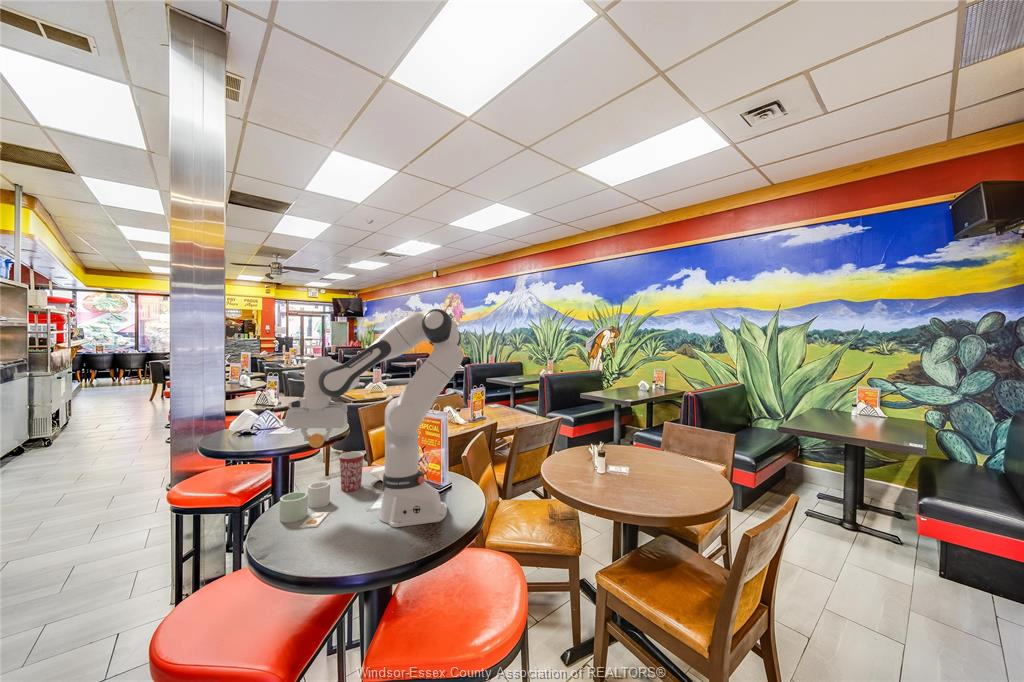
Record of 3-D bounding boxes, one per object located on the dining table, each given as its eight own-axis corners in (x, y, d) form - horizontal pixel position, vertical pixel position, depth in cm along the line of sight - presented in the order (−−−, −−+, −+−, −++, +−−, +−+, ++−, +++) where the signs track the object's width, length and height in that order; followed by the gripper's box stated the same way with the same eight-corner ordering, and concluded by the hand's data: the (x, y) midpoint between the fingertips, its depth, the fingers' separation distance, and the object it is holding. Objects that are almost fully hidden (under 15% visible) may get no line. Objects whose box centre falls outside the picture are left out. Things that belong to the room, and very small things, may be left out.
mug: (356, 493, 143) (357, 458, 143) (334, 492, 143) (334, 457, 144) (371, 481, 155) (371, 449, 156) (350, 480, 156) (350, 448, 156)
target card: (329, 513, 125) (329, 511, 125) (316, 527, 115) (316, 525, 115) (313, 513, 125) (313, 512, 125) (299, 528, 115) (299, 526, 115)
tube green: (311, 511, 127) (311, 491, 127) (300, 522, 119) (300, 500, 119) (287, 512, 126) (287, 492, 126) (274, 523, 118) (275, 501, 118)
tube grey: (332, 499, 136) (332, 481, 137) (324, 507, 130) (325, 488, 130) (312, 500, 136) (313, 481, 136) (304, 508, 129) (304, 488, 129)
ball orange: (326, 445, 134) (326, 431, 134) (320, 449, 129) (321, 435, 129) (312, 445, 134) (312, 432, 134) (305, 449, 129) (306, 435, 129)
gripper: (350, 400, 136) (349, 438, 136) (292, 400, 134) (291, 438, 134) (344, 402, 130) (343, 442, 129) (283, 403, 128) (282, 443, 128)
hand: (316, 440), depth 132 cm, fingers closed on ball orange, 5 cm apart
